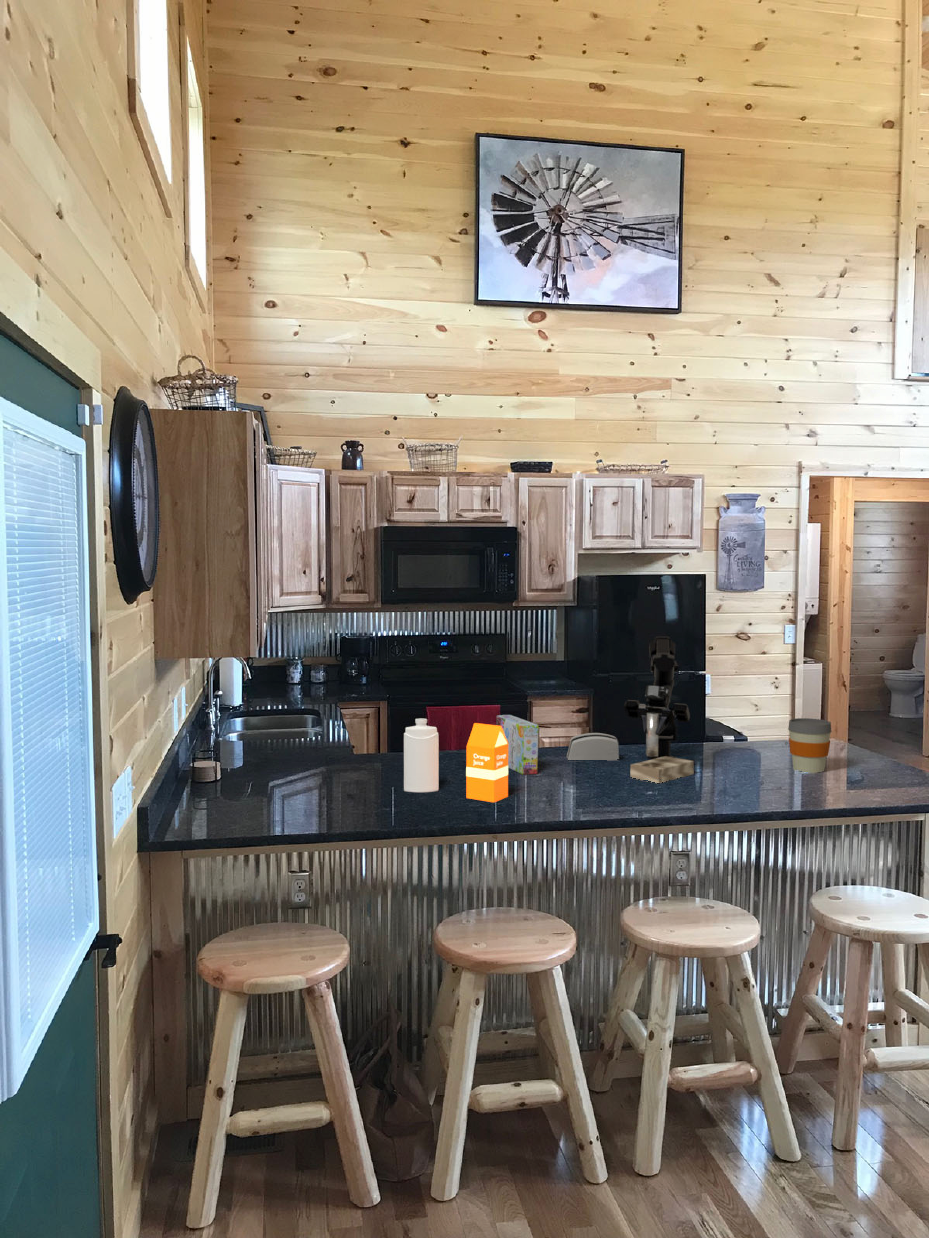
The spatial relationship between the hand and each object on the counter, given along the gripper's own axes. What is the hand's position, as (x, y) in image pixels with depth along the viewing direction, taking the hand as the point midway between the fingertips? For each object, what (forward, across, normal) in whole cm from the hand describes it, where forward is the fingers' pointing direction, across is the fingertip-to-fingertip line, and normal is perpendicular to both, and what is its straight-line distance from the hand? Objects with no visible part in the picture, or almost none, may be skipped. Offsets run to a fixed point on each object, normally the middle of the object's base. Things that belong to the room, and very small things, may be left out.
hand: (651, 733), depth 288 cm
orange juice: (+38, -34, -19) cm, 55 cm away
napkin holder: (-3, -24, +23) cm, 34 cm away
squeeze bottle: (+39, -54, -20) cm, 69 cm away
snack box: (+12, -42, +8) cm, 44 cm away
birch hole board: (+5, +2, +14) cm, 15 cm away
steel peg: (+4, 0, +6) cm, 7 cm away
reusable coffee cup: (-15, +40, +34) cm, 55 cm away
